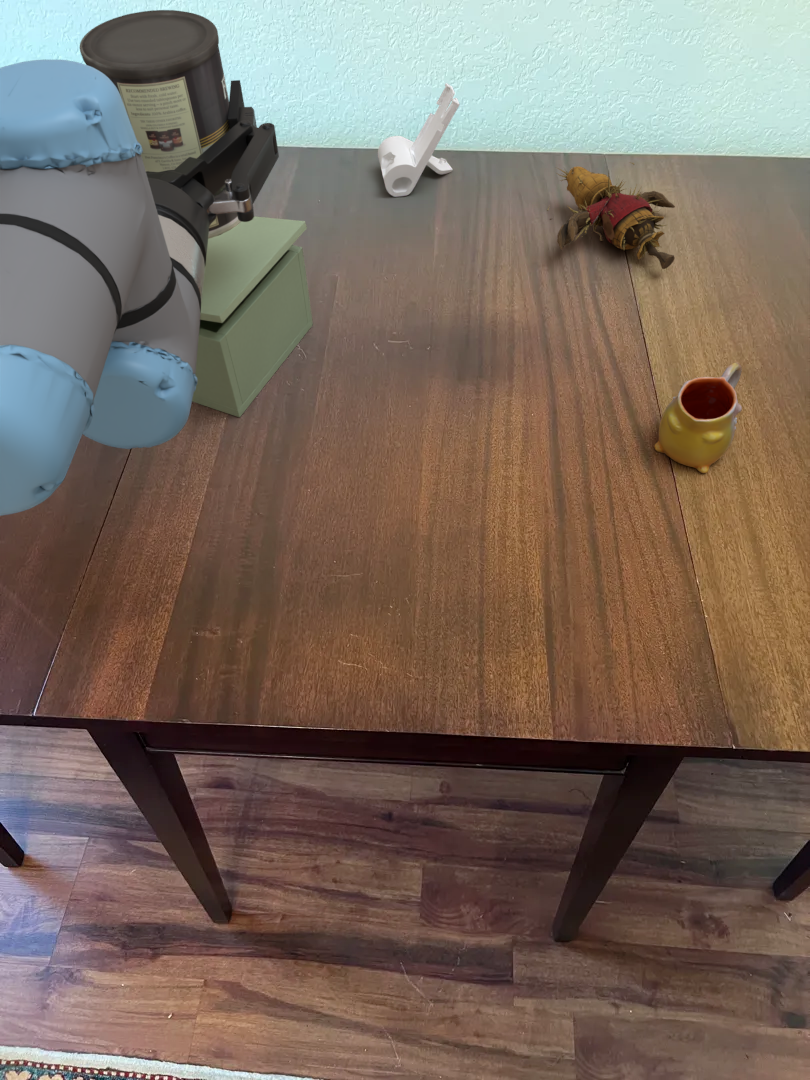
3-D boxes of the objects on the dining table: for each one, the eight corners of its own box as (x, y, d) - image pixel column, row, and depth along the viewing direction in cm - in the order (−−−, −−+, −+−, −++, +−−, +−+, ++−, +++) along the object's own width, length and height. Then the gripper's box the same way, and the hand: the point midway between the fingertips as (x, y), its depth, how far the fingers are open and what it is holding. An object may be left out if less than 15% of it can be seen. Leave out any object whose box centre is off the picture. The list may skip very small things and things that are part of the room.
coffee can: (219, 167, 74) (182, -3, 63) (270, 217, 69) (240, 43, 58) (116, 202, 71) (59, 29, 60) (162, 257, 66) (109, 81, 55)
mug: (703, 483, 75) (725, 436, 69) (640, 449, 77) (657, 400, 72) (760, 415, 80) (785, 365, 74) (700, 384, 82) (720, 334, 77)
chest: (313, 324, 89) (302, 247, 81) (239, 417, 81) (219, 341, 72) (209, 294, 92) (188, 217, 84) (128, 380, 84) (97, 303, 76)
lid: (307, 228, 79) (305, 220, 78) (222, 323, 70) (219, 315, 70) (189, 216, 84) (186, 209, 84) (97, 303, 76) (93, 296, 75)
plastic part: (378, 168, 108) (373, 79, 99) (449, 161, 109) (451, 72, 99) (385, 198, 104) (381, 107, 94) (458, 190, 104) (461, 99, 95)
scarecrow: (670, 207, 102) (688, 147, 96) (675, 282, 92) (695, 221, 86) (540, 196, 104) (549, 136, 97) (531, 268, 94) (540, 207, 88)
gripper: (6, 312, 56) (57, 151, 69) (319, 291, 57) (312, 136, 70) (-44, 217, 50) (23, 60, 63) (307, 195, 51) (302, 45, 64)
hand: (175, 100), depth 67 cm, fingers closed on coffee can, 10 cm apart
